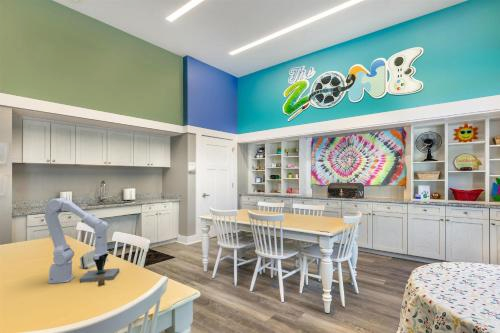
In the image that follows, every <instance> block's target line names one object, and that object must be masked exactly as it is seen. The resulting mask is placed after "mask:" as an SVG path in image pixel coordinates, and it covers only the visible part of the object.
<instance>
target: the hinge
mask: <svg viewBox="0 0 500 333" xmlns="http://www.w3.org/2000/svg"><path fill="white" fill-rule="evenodd" d="M94 256H95V249H92V250H90V251H87V252H86V253H84V254H83V255H82V256H80V258H79V260H80V261H79V262H80V267H81V270H83V269H85V268H87V270H90V269H93V268H95V267H96V263H95V261H94V260H93V258H94ZM106 261H107V262H108V261H109V257H107V258H106ZM106 261H105V263H107V262H106Z"/></svg>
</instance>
